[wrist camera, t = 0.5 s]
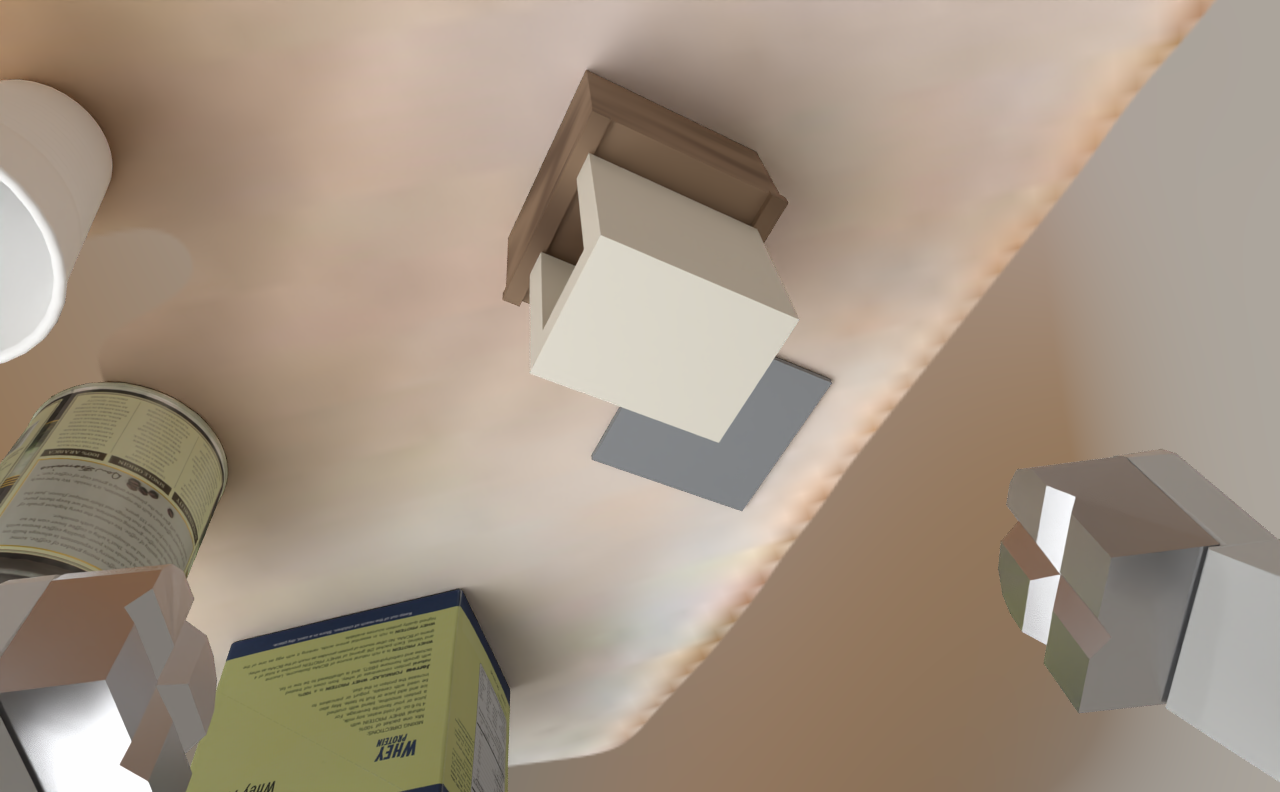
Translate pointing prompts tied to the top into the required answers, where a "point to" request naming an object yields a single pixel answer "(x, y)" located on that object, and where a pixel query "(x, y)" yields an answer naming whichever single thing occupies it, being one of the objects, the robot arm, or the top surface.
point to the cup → (43, 205)
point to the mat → (740, 453)
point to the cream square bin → (658, 305)
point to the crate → (644, 147)
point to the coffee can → (108, 484)
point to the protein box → (362, 707)
